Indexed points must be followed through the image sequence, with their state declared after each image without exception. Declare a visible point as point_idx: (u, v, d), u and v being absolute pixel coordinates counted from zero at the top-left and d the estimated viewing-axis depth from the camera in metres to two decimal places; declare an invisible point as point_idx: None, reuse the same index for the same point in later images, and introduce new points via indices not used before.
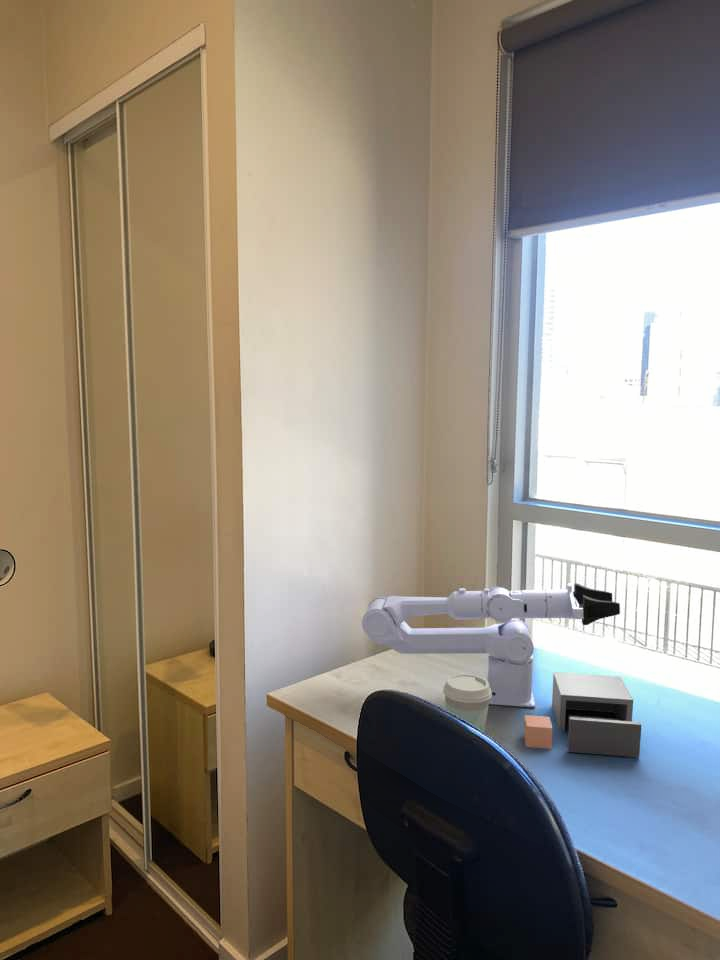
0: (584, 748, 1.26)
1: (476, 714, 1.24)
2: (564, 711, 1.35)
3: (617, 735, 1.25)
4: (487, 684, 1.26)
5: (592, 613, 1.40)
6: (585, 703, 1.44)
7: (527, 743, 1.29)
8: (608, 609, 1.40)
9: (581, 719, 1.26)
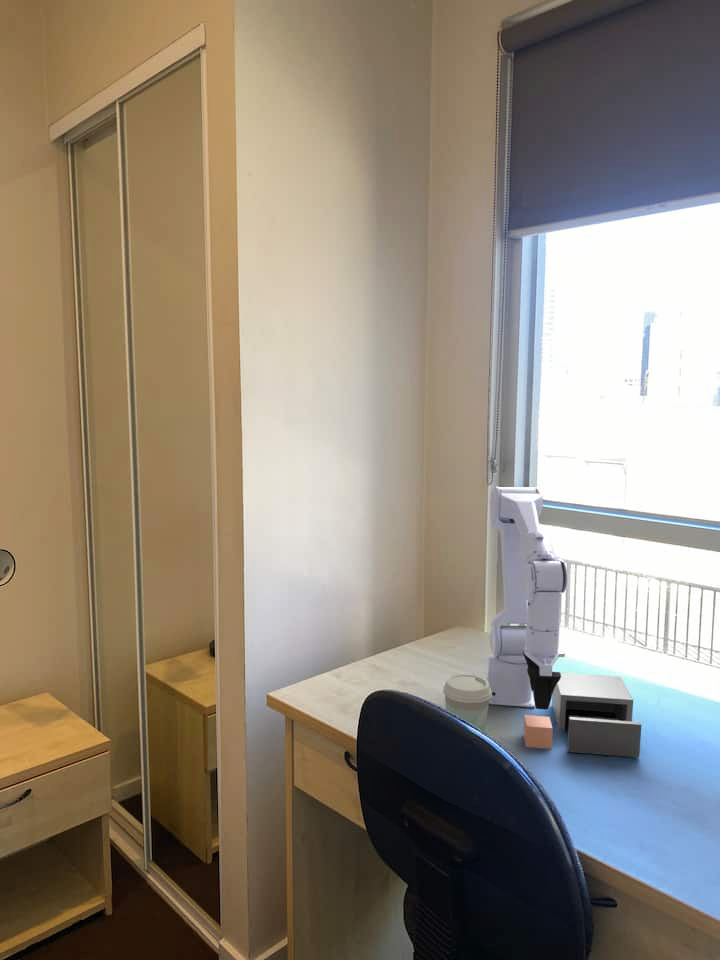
0: (584, 748, 1.26)
1: (476, 713, 1.24)
2: (564, 711, 1.35)
3: (617, 735, 1.25)
4: (487, 684, 1.26)
5: (538, 681, 1.25)
6: (585, 703, 1.44)
7: (527, 743, 1.29)
8: (542, 697, 1.25)
9: (581, 719, 1.26)
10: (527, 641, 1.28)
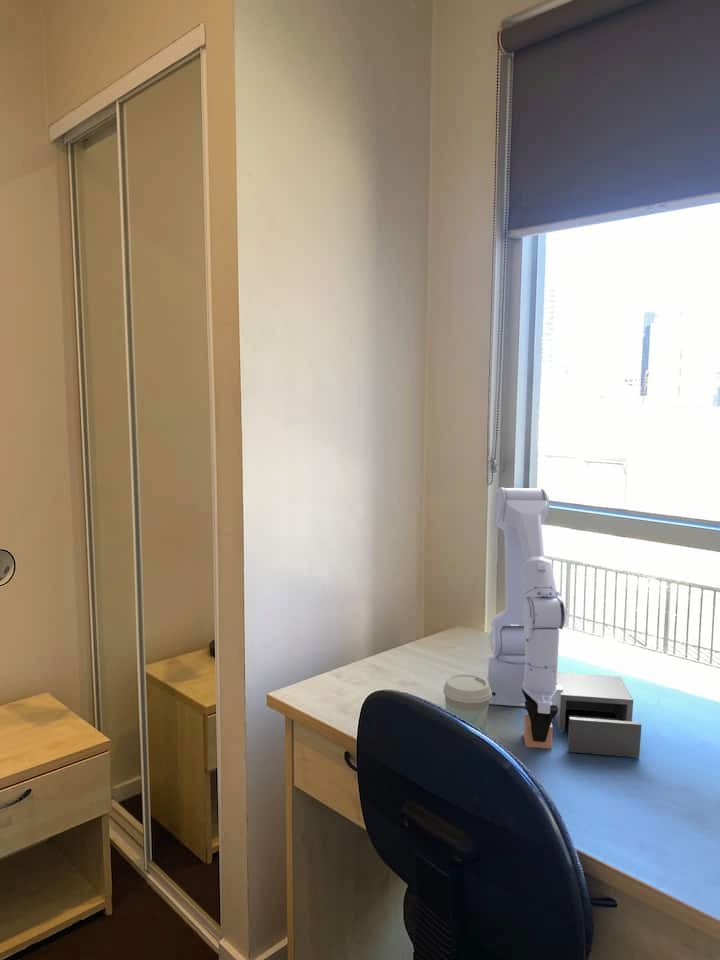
0: (584, 748, 1.26)
1: (476, 713, 1.24)
2: (564, 711, 1.35)
3: (617, 735, 1.25)
4: (487, 684, 1.26)
5: (536, 714, 1.27)
6: (585, 703, 1.44)
7: (527, 743, 1.29)
8: (539, 730, 1.27)
9: (581, 719, 1.26)
10: (525, 677, 1.29)
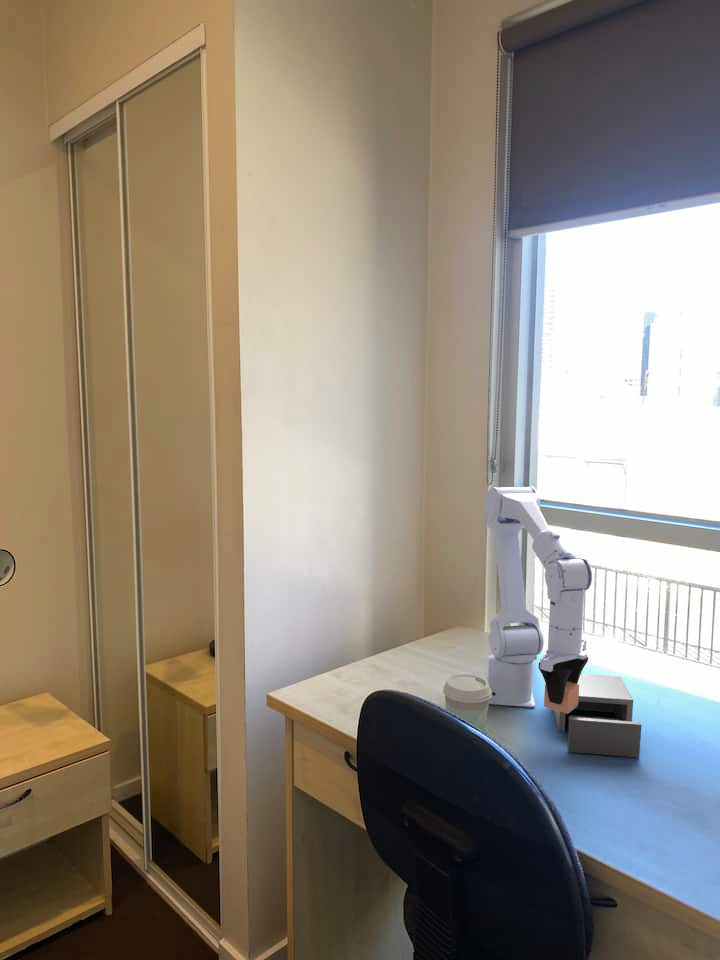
0: (584, 748, 1.26)
1: (476, 713, 1.24)
2: None
3: (617, 735, 1.25)
4: (487, 684, 1.26)
5: (551, 674, 1.27)
6: (585, 703, 1.44)
7: (545, 703, 1.29)
8: (554, 691, 1.27)
9: (581, 719, 1.26)
10: None
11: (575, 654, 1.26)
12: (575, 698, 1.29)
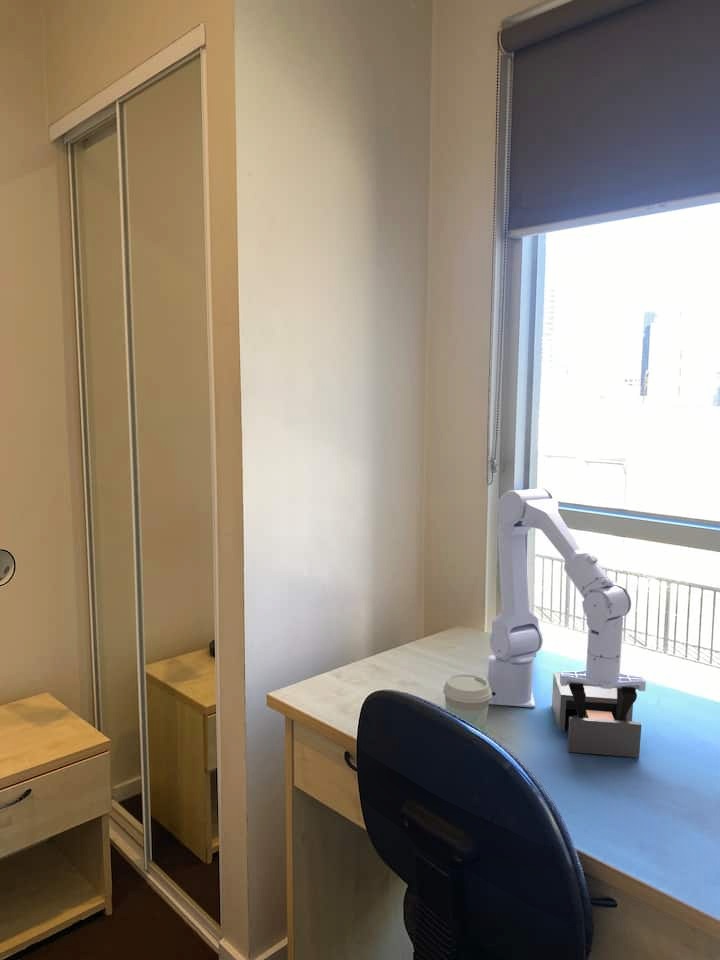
0: (584, 748, 1.26)
1: (476, 713, 1.24)
2: (564, 711, 1.35)
3: (617, 735, 1.25)
4: (487, 684, 1.26)
5: None
6: (585, 703, 1.44)
7: None
8: None
9: (581, 719, 1.26)
10: None
11: (598, 681, 1.27)
12: None
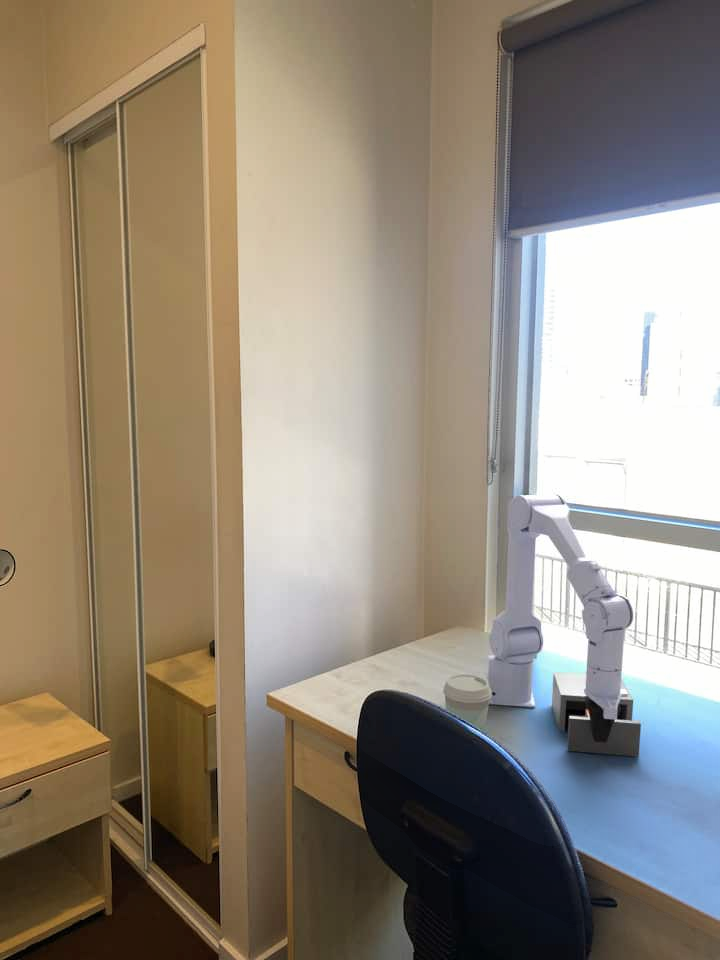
0: (584, 747, 1.27)
1: (476, 713, 1.24)
2: (564, 711, 1.35)
3: (617, 734, 1.25)
4: (487, 684, 1.26)
5: (597, 713, 1.23)
6: (585, 703, 1.44)
7: None
8: (601, 730, 1.23)
9: (581, 718, 1.26)
10: (588, 680, 1.23)
11: (620, 693, 1.22)
12: None
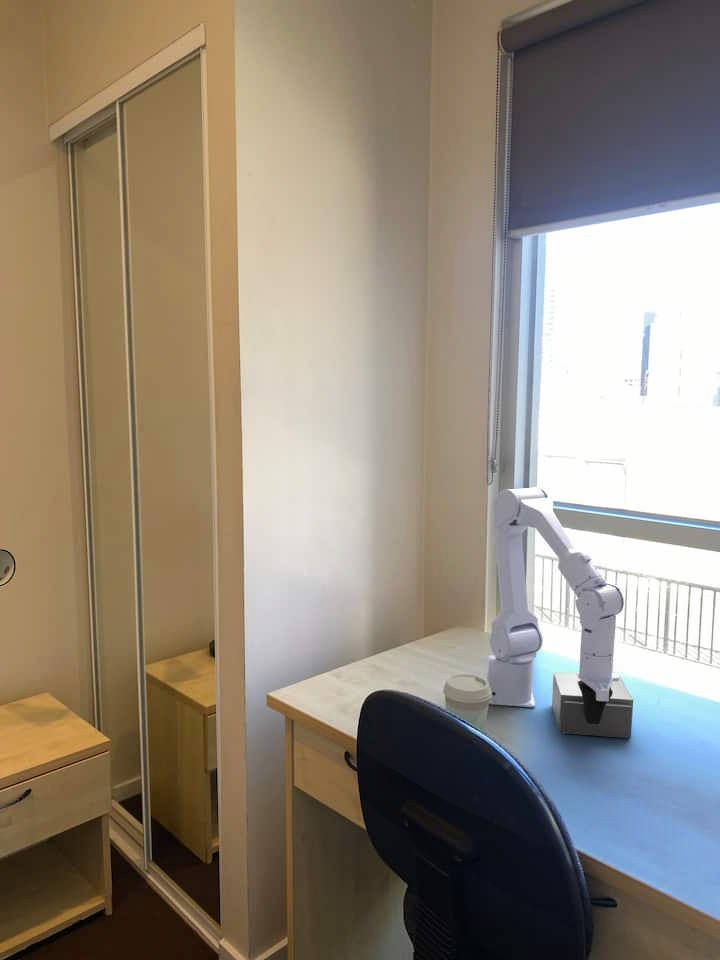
0: (578, 729, 1.33)
1: (476, 713, 1.24)
2: None
3: (609, 717, 1.32)
4: (487, 684, 1.26)
5: (590, 696, 1.30)
6: None
7: None
8: (594, 712, 1.30)
9: (575, 702, 1.33)
10: (581, 665, 1.29)
11: (612, 678, 1.29)
12: None
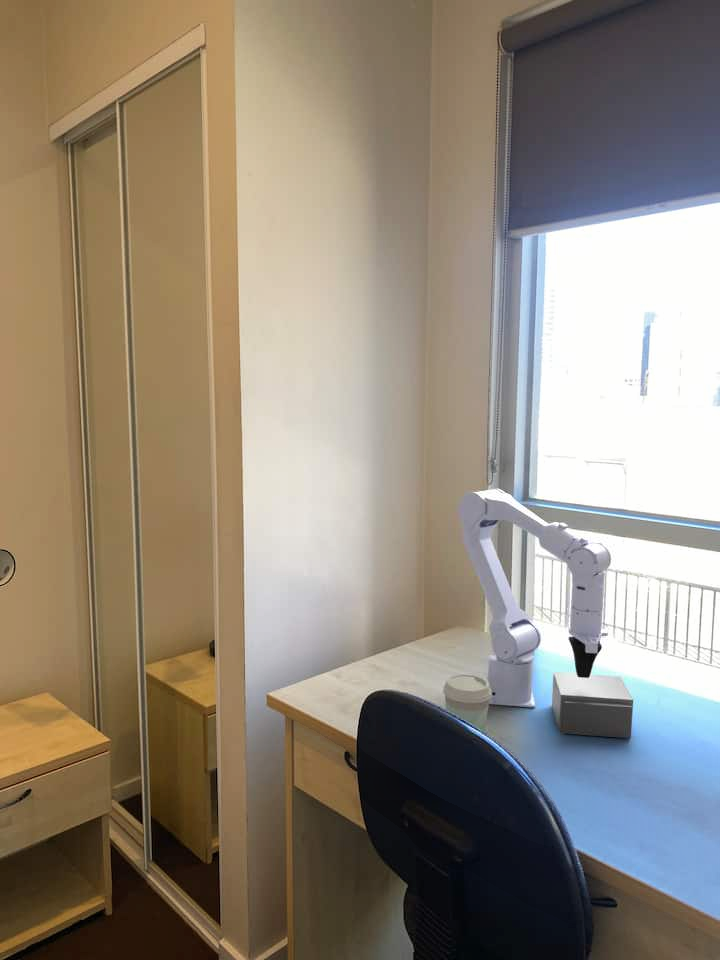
0: (578, 730, 1.33)
1: (476, 713, 1.24)
2: None
3: (609, 717, 1.32)
4: (487, 684, 1.26)
5: (580, 651, 1.36)
6: None
7: None
8: (584, 667, 1.36)
9: (575, 702, 1.33)
10: (572, 621, 1.35)
11: (601, 632, 1.35)
12: None
